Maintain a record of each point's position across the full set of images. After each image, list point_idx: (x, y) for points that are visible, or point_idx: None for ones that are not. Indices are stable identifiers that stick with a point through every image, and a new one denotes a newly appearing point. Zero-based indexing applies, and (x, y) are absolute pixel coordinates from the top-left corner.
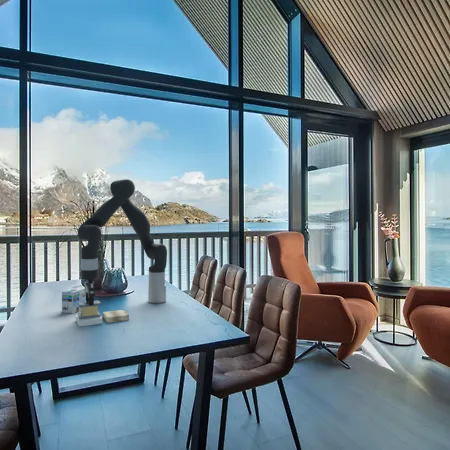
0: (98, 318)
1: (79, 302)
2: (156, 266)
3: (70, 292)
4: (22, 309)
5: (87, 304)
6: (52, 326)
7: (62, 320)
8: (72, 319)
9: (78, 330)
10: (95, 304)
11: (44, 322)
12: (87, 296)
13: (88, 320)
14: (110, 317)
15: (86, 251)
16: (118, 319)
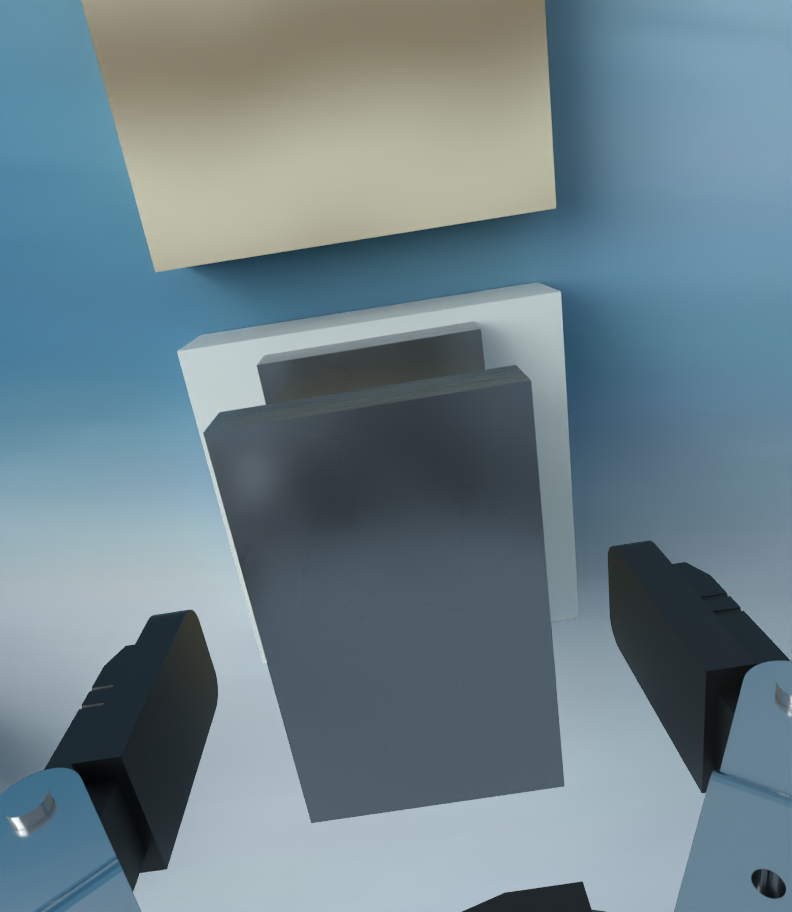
0: (560, 357)
1: (321, 802)
2: None
3: None
4: None
5: (550, 661)
6: (443, 808)
7: (231, 748)
8: (211, 657)
9: (711, 571)
10: (533, 495)
11: (268, 883)
12: (180, 761)
13: (570, 497)
14: (549, 140)
15: None
16: None
